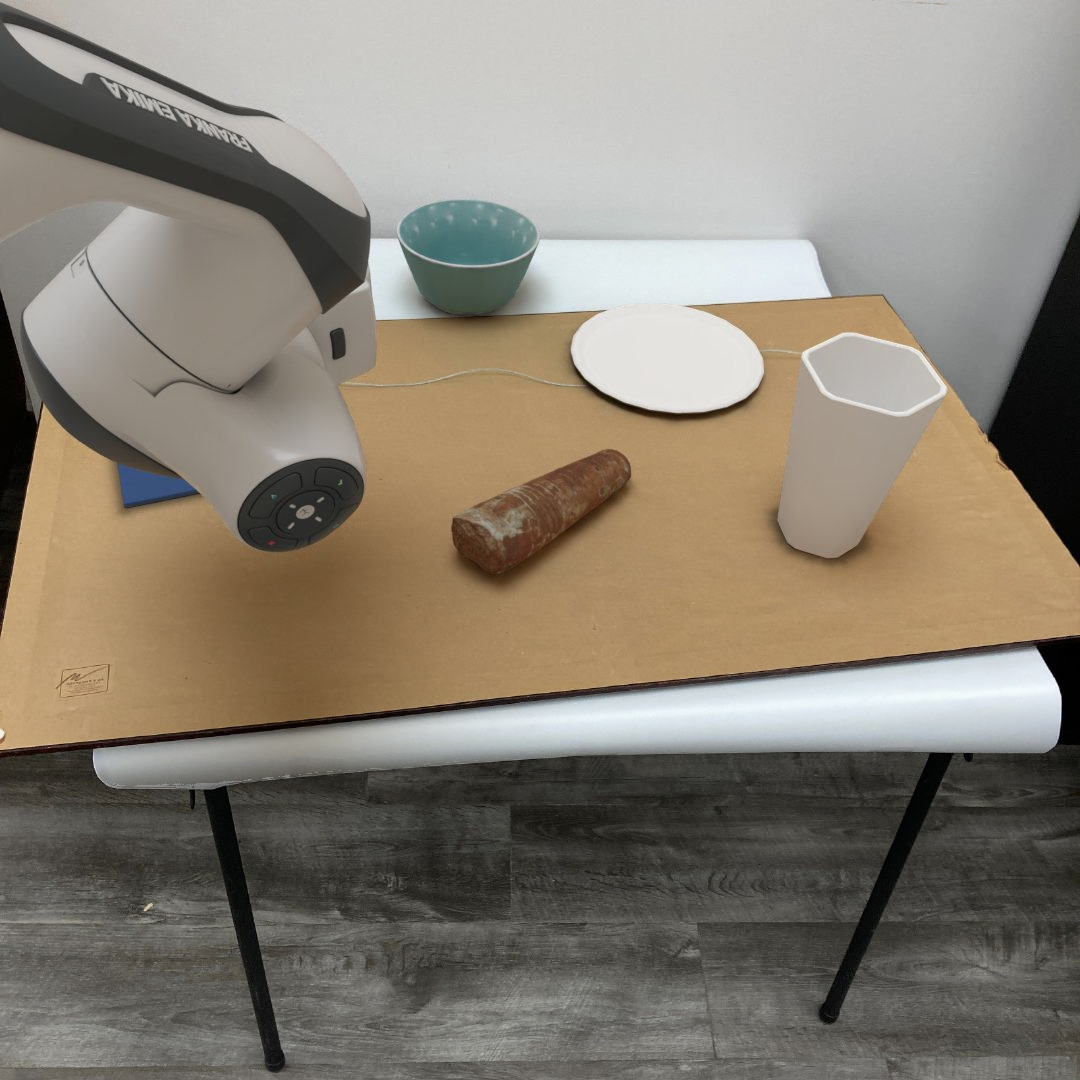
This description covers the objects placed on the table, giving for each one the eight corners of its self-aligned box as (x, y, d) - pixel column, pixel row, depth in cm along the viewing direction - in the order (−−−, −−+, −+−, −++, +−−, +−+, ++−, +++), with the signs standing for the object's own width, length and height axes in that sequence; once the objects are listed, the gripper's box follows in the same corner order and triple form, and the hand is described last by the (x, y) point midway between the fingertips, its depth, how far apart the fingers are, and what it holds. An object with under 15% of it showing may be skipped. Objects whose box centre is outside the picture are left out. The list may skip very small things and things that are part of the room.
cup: (888, 513, 90) (953, 356, 78) (872, 586, 83) (941, 427, 71) (769, 478, 92) (814, 321, 81) (744, 547, 86) (789, 386, 74)
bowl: (550, 275, 118) (554, 210, 112) (516, 344, 107) (518, 275, 101) (426, 253, 120) (424, 188, 114) (380, 318, 109) (375, 250, 103)
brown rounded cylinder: (443, 555, 83) (442, 506, 79) (600, 464, 93) (606, 417, 89) (492, 597, 80) (493, 548, 76) (649, 498, 90) (658, 451, 86)
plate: (751, 438, 97) (754, 428, 96) (548, 397, 100) (549, 387, 99) (771, 330, 111) (773, 321, 111) (593, 297, 115) (594, 288, 114)
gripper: (78, 426, 60) (58, 312, 69) (398, 363, 67) (342, 267, 75) (47, 338, 55) (30, 228, 64) (394, 280, 62) (335, 188, 71)
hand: (201, 249), depth 70 cm, fingers open, 8 cm apart
